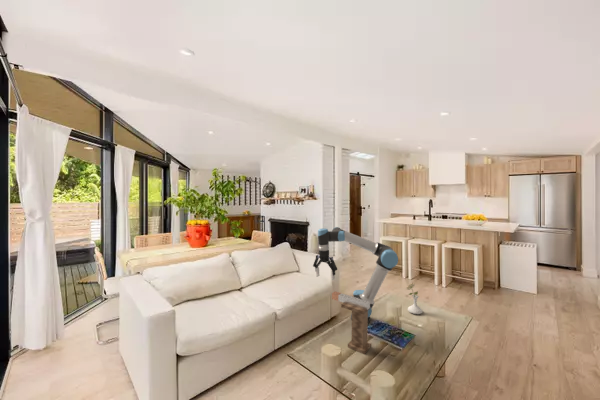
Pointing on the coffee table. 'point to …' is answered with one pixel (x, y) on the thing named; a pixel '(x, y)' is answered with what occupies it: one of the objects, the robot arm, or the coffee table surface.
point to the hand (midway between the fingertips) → (325, 277)
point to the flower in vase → (414, 307)
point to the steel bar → (351, 300)
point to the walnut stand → (358, 328)
